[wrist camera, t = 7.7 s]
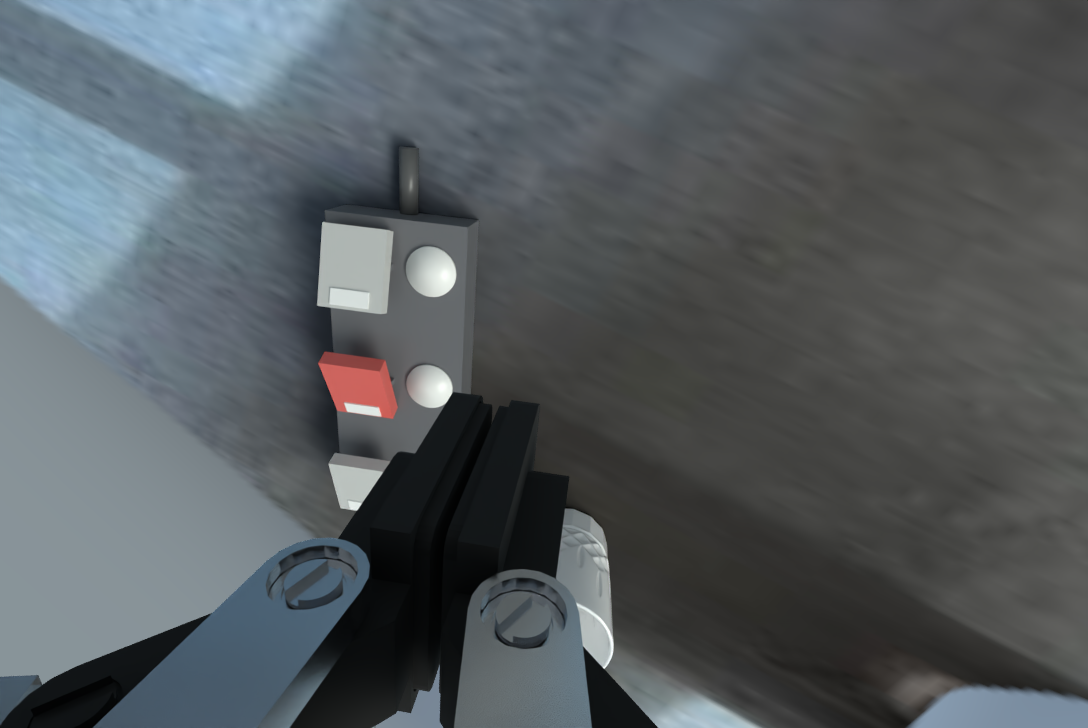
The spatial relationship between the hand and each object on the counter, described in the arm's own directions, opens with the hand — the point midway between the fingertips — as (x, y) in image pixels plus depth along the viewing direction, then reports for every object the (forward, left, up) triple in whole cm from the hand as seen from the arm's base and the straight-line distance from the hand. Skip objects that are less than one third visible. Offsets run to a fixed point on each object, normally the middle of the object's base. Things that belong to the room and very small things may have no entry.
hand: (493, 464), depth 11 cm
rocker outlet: (+19, -13, -23) cm, 32 cm away
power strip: (+9, -11, -27) cm, 31 cm away
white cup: (+25, +2, -27) cm, 37 cm away
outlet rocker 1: (+3, -13, -23) cm, 26 cm away
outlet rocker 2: (+11, -13, -23) cm, 28 cm away
